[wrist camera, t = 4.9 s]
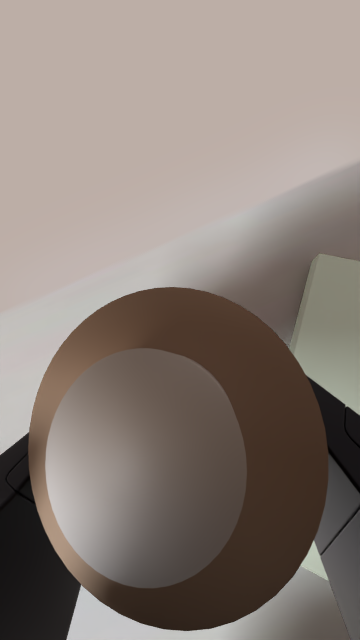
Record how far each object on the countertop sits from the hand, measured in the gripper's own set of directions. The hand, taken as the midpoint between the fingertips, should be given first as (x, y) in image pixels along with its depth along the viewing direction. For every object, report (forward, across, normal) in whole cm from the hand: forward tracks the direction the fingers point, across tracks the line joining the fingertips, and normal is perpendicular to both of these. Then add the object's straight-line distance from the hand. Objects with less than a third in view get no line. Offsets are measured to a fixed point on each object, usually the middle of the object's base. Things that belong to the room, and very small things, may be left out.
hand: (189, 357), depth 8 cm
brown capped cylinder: (+4, 0, +6) cm, 7 cm away
